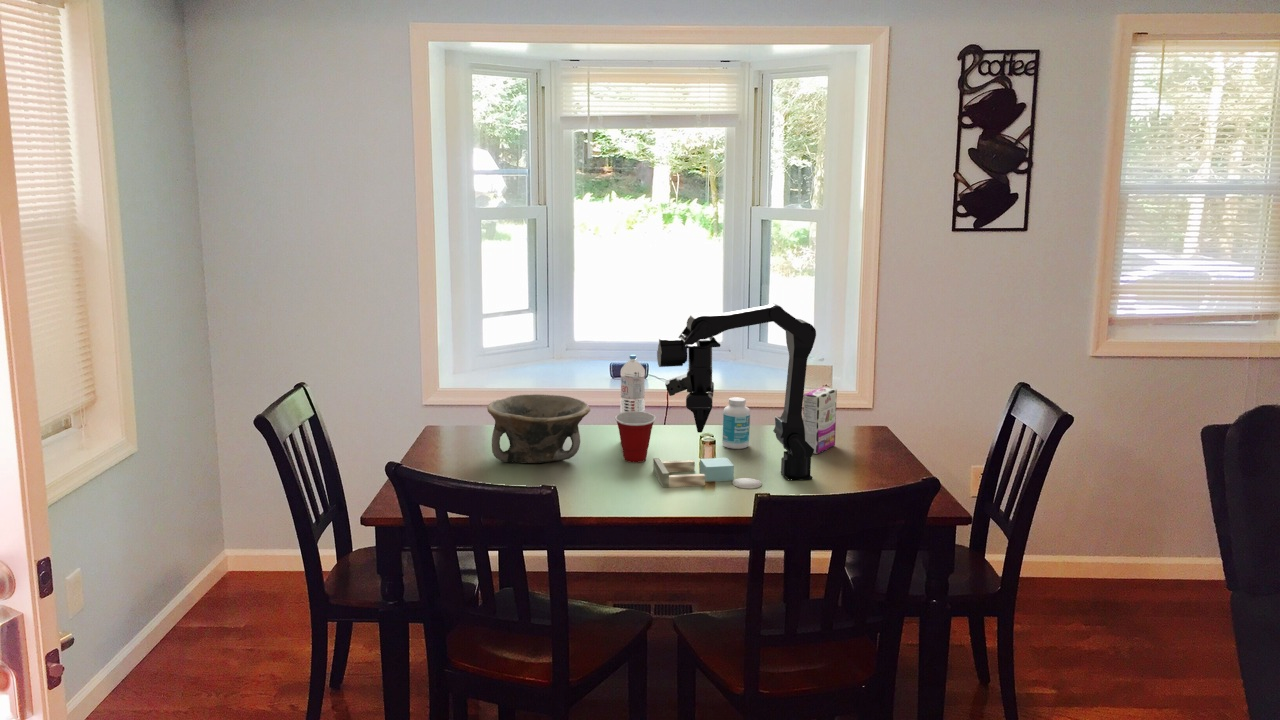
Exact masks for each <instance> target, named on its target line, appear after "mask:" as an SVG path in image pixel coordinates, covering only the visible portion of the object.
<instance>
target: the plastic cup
mask: <svg viewBox="0 0 1280 720" xmlns="http://www.w3.org/2000/svg"><path fill="white" fill-rule="evenodd" d="M656 418H657V417H656V415H655V414H652V413H650V412H647V411H645V412H642V411H628V412H623V413H621V412H620V413H618V414H616V415H615V417H614V419H615V421H616V423H617V424H616V425H617V428H618V434H619V437H620V438H619V439H620V445H621V449H622V455H623V458H624V459H623V460H624V461H625V462H628V463H634V464H635V463H644V462H645V461H646V459H647V456H648V452H649V451H648V449H649V447H650V440H651V434H652V430H653V425H654V423H655V421H656Z"/></svg>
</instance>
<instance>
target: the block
mask: <svg viewBox="0 0 1280 720" xmlns="http://www.w3.org/2000/svg"><path fill="white" fill-rule="evenodd" d="M734 471H735V465H734V464H733V463H732V462H731V461H730V460H729V458H727V457H714V458H713V457H712V458H699V474H704V475H705V483H706V482H722V481H723V482H725V481H727V482H728V481H734V480H735V478H734V473H735V472H734Z"/></svg>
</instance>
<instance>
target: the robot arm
mask: <svg viewBox="0 0 1280 720" xmlns="http://www.w3.org/2000/svg"><path fill="white" fill-rule="evenodd" d="M772 322H773V323H775V324H776V325H777V326H778V327H780V328H781V329H783V330H784V331H785V340H786V346H787V351H788V363H787V364H788V365H787V375H786V384H785V385H786V386H785V398H784V405H783V412H782V413H781V416H774V421H775V422H774V423H775V425H774V428H773V433H774V434H775V437H776V440H778V442H779V443H780V444H781V445H782V447H783V449H784V450H785V451H783V457H781V460H780V461H781V463H780V464H781V465H780V474H781V475H782V476H783V477H784V476H785V477H786V478H787V479H789V480H788V481H794V480H793V479H806V480H813V479H812V478H814V477H813V476H812V474H811V472H812V471H811V469H812V467H811V466H812V457H813V452H814V449H813V448H812V447H811V446H810V445H809V444H808V443H807V442H806V441H805V427H804V423H803V403H804V394H805V386H806V385H805V384H806V373H807V366H808V365H807V364H808V358H809V356H810V354H811V352H812V350H813V348H814V344H815V342H816V337H817V330H816V328H815V327H814V325H812V324H811V323H809V322H807V321H805V320H803V319H800V318H796V317H794V316H793V315H791V314H790V313H788V312H787V311H786V310H785V309H784V308H783V307H782V306H781V305H778V304H776V303H769V304H766V305H762V306H755V307H751V308H750V307H749V308H745V309H739V310H734V311H728V312H709V311H708V312H702V311H701V312H698V311H697V312H695V313H694V312H693V313H692V314H690V316H689V317H688V318H687V321H686V326H685V328H684V329H683V330H682V331H681V333H680V334H679V336H678V338H659V339H658V345H657V350H656V360H657V365H658V368H665V367H683V365H684V364H686V363H687V361H688V368H687V371H686V373H685V374H681V375H678V376H675V377H673V378H671V379H670V378H669V379H667V380H666V381H665V387H666V391H667V392H668V395H669V396H670V397H672V396H674V395H676V394H678V393H681V392H684V391H686V393H687V396H686V398H685V399H686V400H685V407H686V408H687V410H689V411H690V412H691V413H692V414H693V418H694V422H695V423H694V424H695V427H696V431H697V433H703V431H704V428H705V425H706V424H707V421H708V418H709V417H710V414H711V411H712V409H713V397H714V392H715V388H714V387H715V384H714V381H713V348H720V347H721V344H720V343H719V342H718V341H717V340H716V338H715V336H718V335H720V334H722V333H723V332H726V331H729V330H735V329H737V328H738V329H739V328H744V327H749V326H755V325H760V324H765V323H772ZM785 477H784V478H785ZM786 478H785V479H786ZM787 479H786V480H787ZM791 479H792V480H791Z"/></svg>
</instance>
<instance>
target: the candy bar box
mask: <svg viewBox="0 0 1280 720" xmlns="http://www.w3.org/2000/svg"><path fill="white" fill-rule="evenodd" d="M837 391H838V389H835V388H832V387H819V388H817V389H814V390H812V391H809V392H807V393H804V396H803V406H802V418H803V423H804V427H805V441H806V442H807V443H808V444H809V445H810V446H811V447H812V448H813V449H814V452H813V453H814V455H819V454H821V453H823V452H825V451H827V450H829V449H831V448H833V447H834V446H836V428H837V427H836V424H837V420H836V419H837V418H836V417H837V397H838V396H837ZM828 448H829V449H828ZM826 449H827V450H826ZM824 450H825V451H824ZM822 451H823V452H822ZM820 452H821V453H820ZM818 453H819V454H818Z"/></svg>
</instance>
